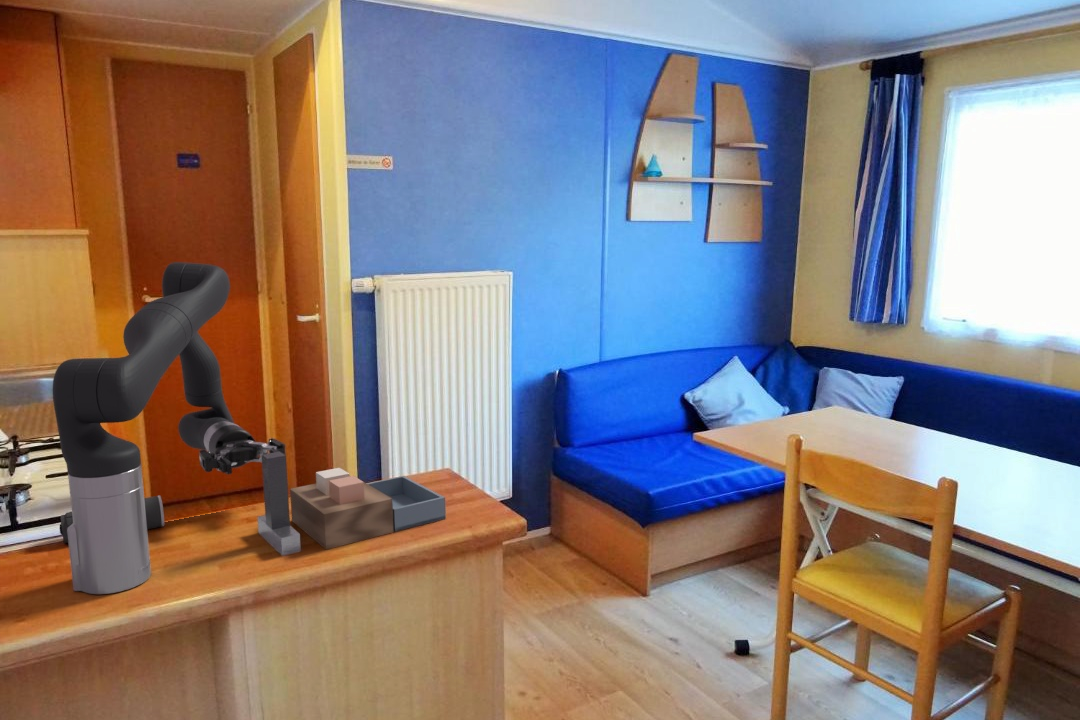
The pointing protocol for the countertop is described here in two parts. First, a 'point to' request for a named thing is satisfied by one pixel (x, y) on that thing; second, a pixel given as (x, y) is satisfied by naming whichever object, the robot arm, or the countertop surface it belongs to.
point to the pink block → (346, 489)
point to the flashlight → (151, 507)
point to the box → (411, 502)
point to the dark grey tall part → (277, 506)
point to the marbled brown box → (341, 516)
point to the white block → (329, 478)
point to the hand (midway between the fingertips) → (254, 464)
